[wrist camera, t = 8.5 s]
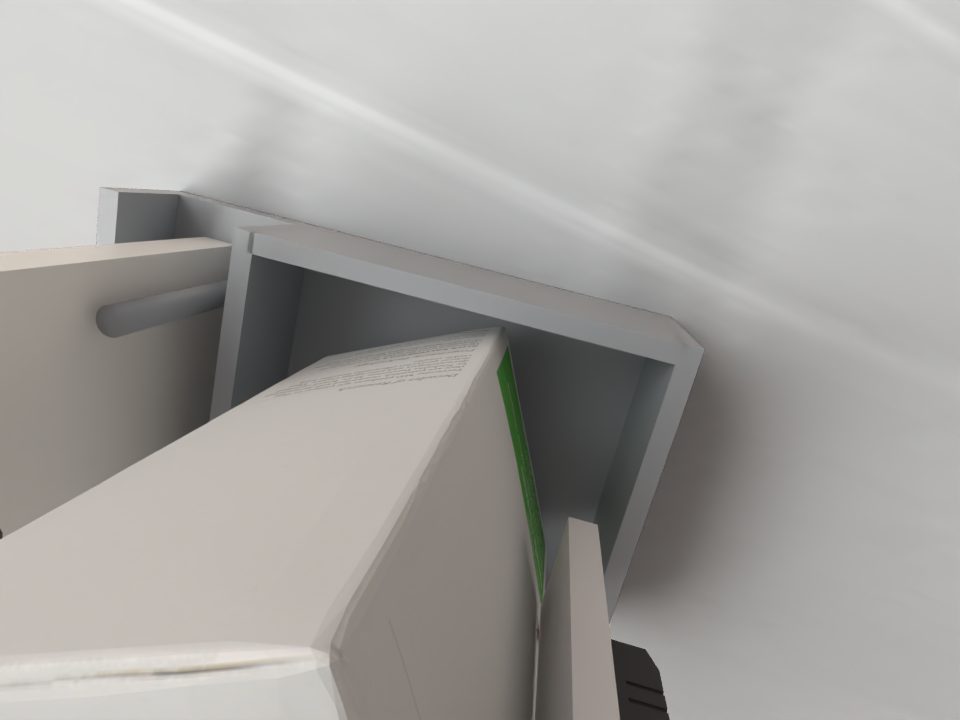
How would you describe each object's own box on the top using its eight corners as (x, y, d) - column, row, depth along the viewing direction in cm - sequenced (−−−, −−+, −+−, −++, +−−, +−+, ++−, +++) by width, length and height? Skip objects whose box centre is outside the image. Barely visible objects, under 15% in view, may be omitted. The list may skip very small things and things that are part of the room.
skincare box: (548, 549, 21) (550, 1380, 6) (366, 569, 22) (-17, 1330, 7) (506, 311, 19) (361, 666, 4) (309, 344, 20) (-364, 729, 5)
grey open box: (671, 317, 21) (808, 449, 9) (575, 609, 24) (590, 976, 13) (179, 190, 22) (-236, 171, 11) (149, 485, 25) (-199, 718, 14)
